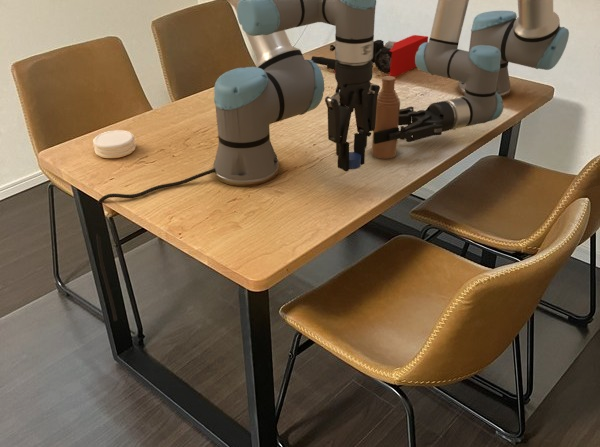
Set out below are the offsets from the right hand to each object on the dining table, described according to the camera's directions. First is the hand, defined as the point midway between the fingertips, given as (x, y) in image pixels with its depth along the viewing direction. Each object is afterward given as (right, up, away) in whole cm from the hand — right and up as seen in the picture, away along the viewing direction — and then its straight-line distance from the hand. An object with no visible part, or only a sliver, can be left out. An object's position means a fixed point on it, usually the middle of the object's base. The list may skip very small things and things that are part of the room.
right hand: (367, 132), depth 148 cm
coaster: (-62, -3, +8) cm, 63 cm away
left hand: (-5, -9, -12) cm, 16 cm away
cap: (-5, -7, -13) cm, 16 cm away
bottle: (+5, -4, +5) cm, 8 cm away
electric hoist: (+7, +32, +63) cm, 71 cm away
